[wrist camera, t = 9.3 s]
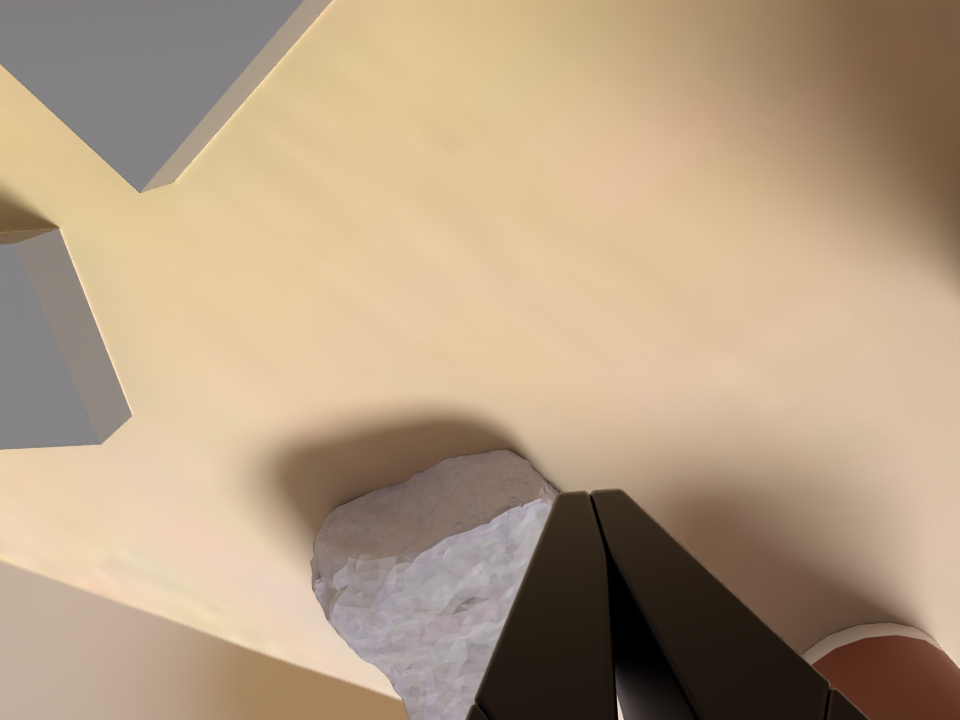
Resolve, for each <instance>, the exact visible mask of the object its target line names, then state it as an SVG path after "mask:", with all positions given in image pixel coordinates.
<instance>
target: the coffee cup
mask: <svg viewBox="0 0 960 720" xmlns="http://www.w3.org/2000/svg"><path fill="white" fill-rule="evenodd" d="M802 657H803V658H804V659H805V660H806V661H807V662H808V663H809V664H811V665H812V666H813V667H814V668H815V669H816V670H817V671H818V672H819V673H820V674H821V675H822V676H823V677H825V678H826V679H827V680H828V681H829V683H830V689H832V688H836V689H838V690H839V691H840V692H841V693H842V694H843V695H844V696H845V697H847V698H848V699H849V700H850V701H851V702H852V703H853V704H854V705H855V706H856V707H857V708H858V709H859V710H860V711H862V712H863V713H864V714H865V715H866V716H867V717H868V718H869V719H870V720H960V669H959V668H958V667H957V666H956V664H955V663H954V662H953V661H952V660H951V659H950V658H949V657H948V655H947V654H946V653H945V652H944V651H943V649H942V648H941V647H940V646H939V644H938V643H937V642H936V640H935V639H933V638H932V637H930V636H928V635H927V634H925V633H924V632H922V631H921V630H919V629H917V628H916V627H911V626H906V625H900V624H895V623H890V622H885V623H875V624H864V625H856V626H853V627H850V628H848V629H845V630H842V631H839V632H836V633H834V634H831V635H828V636H826V637H825V638H824V639H822V640H821V641H819V642H818V643H817V644H815V645H814V646H812V647H811V648H809V649H808V650H807V651H805V653H804V654H803V656H802Z"/></svg>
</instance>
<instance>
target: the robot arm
mask: <svg viewBox="0 0 960 720" xmlns="http://www.w3.org/2000/svg"><path fill="white" fill-rule="evenodd" d="M616 692H617V693H616ZM617 696H618V700H619V703H620V707H621V710H622V714H623V718H624V720H870V719H869V718H868V717H867V716H866V715H865V714H864V713H863V712H862V711H860V710H859V709H858V708H857V707H856V706H855V705H854V704H853V703H852V702H851V701H850V700H849V699H848V698H847V697H845V696H844V695H843V694H842V693H841V692H840V691H839V690H838V689H836V688H832V689H830V683H829V681H828V680H827V679H826V678H825V677H823V676H822V675H821V674H820V673H819V672H818V671H817V670H816V669H815V668H814V667H813V666H812V665H811V664H809V663H808V662H807V661H806V660H805V659H804V658H803V657H802V656H801V655H800V654H799V653H798V652H797V651H795V650H794V649H793V648H792V647H791V646H790V645H789V644H788V643H787V642H786V641H785V640H784V639H783V638H781V637H780V636H779V635H778V634H777V633H776V632H775V631H774V630H773V629H772V628H771V627H770V626H769V625H768V624H766V623H765V622H764V621H763V620H762V619H761V618H760V617H759V616H758V615H757V614H756V613H755V612H754V611H752V610H751V609H750V608H749V607H748V606H747V605H746V604H745V603H744V602H743V601H742V600H741V599H740V598H738V597H737V596H736V595H735V594H734V593H733V592H732V591H731V590H730V589H729V588H728V587H727V586H726V585H724V584H723V583H722V582H721V581H720V580H719V579H718V578H717V577H716V576H715V575H714V574H713V573H712V572H710V571H709V570H708V569H707V568H706V567H705V566H704V565H703V564H702V563H701V562H700V561H699V560H698V559H697V558H695V557H694V556H693V555H692V554H691V553H690V552H689V551H688V550H687V549H686V548H685V547H684V546H683V545H681V544H680V543H679V542H678V541H677V540H676V539H675V538H674V537H673V536H672V535H671V534H670V533H669V532H667V531H666V530H665V529H664V528H663V527H662V526H661V525H660V524H659V523H658V522H657V521H656V520H655V519H653V518H652V517H651V516H650V515H649V514H648V513H647V512H646V511H645V510H644V509H643V508H642V507H641V506H639V505H638V504H637V503H636V502H635V501H634V500H633V499H632V498H631V497H630V496H629V495H628V494H627V493H625V492H624V491H623V490H621V489H605V490H594V491H592V492H591V494H590V495H589V493H588V492H586V491H575V492H562V493H559V494H558V495H557V496H556V498H555V501H554V503H553V506H552V508H551V511H550V513H549V516H548V518H547V520H546V523H545V525H544V528H543V530H542V533H541V535H540V538H539V540H538V543H537V545H536V548H535V550H534V553H533V555H532V557H531V560H530V562H529V565H528V567H527V570H526V572H525V575H524V577H523V580H522V582H521V585H520V587H519V589H518V592H517V594H516V597H515V599H514V602H513V604H512V607H511V609H510V612H509V614H508V617H507V619H506V621H505V624H504V626H503V629H502V631H501V634H500V636H499V639H498V641H497V644H496V646H495V649H494V651H493V654H492V656H491V658H490V661H489V663H488V666H487V668H486V671H485V673H484V676H483V678H482V681H481V683H480V686H479V688H478V690H477V693H476V695H475V698H474V703H475V704H473V705H472V706H471V707H470V709H469V712H468V714H467V717H466V719H465V720H618V709H617Z"/></svg>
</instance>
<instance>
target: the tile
mask: <svg viewBox="0 0 960 720" xmlns="http://www.w3.org/2000/svg"><path fill="white" fill-rule="evenodd" d="M132 416H133V414H132V411H131V408H130V406H129V403H128V401H127V398H126V396H125V393H124V390H123V388H122V385H121V383H120V380H119V378H118V375H117V372H116V370H115V367H114V365H113V362H112V360H111V357H110V354H109V352H108V349H107V347H106V344H105V342H104V339H103V336H102V334H101V331H100V329H99V326H98V324H97V321H96V318H95V316H94V313H93V311H92V308H91V306H90V303H89V301H88V298H87V295H86V293H85V290H84V288H83V285H82V283H81V280H80V277H79V275H78V272H77V270H76V267H75V265H74V262H73V259H72V257H71V254H70V252H69V249H68V247H67V244H66V241H65V239H64V236H63V234H62V231H61V229H60V228H54V229H41V230H28V231H14V232H1V233H0V450H2V449H21V448H41V447H61V446H81V445H100V444H102V443H103V442H104V441H105V440H106V439H107V438H109V437H110V436H111V435H112V434H113V433H114V432H115V431H116V430H117V429H118V428H119V427H121V426H122V425H123V424H124V423H125V422H126V421H127V420H128V419H129V418H130V417H132Z"/></svg>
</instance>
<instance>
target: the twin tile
mask: <svg viewBox="0 0 960 720" xmlns="http://www.w3.org/2000/svg"><path fill="white" fill-rule="evenodd" d="M332 2H333V0H0V64H1V65H2V66H3V67H4V68H5V69H6V70H7V71H8V72H9V73H11V74H12V75H13V76H14V77H15V78H16V79H17V80H18V81H19V82H20V83H21V84H22V85H24V86H25V87H26V88H27V89H28V90H29V91H30V92H31V93H32V94H33V95H34V96H35V97H36V98H38V99H39V100H40V101H41V102H42V103H43V104H44V105H45V106H46V107H47V108H48V109H49V110H51V111H52V112H53V113H54V114H55V115H56V116H57V117H58V118H59V119H60V120H61V121H62V122H64V123H65V124H66V125H67V126H68V127H69V128H70V129H71V130H72V131H73V132H74V133H75V134H76V135H78V136H79V137H80V138H81V139H82V140H83V141H84V142H85V143H86V144H87V145H88V146H89V147H91V148H92V149H93V150H94V151H95V152H96V153H97V154H98V155H99V156H100V157H101V158H102V159H103V160H105V161H106V162H107V163H108V164H109V165H110V166H111V167H112V168H113V169H114V170H115V171H116V172H118V173H119V174H120V175H121V176H122V177H123V178H124V179H125V180H126V181H127V182H128V183H129V184H130V185H132V186H133V187H134V188H135V189H136V190H137V191H138V192H139V193H142V192H145V191H148V190H151V189H154V188H158V187H161V186H164V185H167V184H170V183H174V182H176V181H177V179H178V178H179V177H180V176H181V175H182V174H183V173H184V171H185V170H186V169H187V168H188V167H189V166H190V165H191V163H192V162H193V161H194V160H195V159H196V158H197V157H198V155H199V154H200V153H201V152H202V151H203V150H204V148H205V147H206V146H207V145H208V144H209V143H210V142H211V140H212V139H213V138H214V137H215V136H216V135H217V134H218V132H219V131H220V130H221V129H222V128H223V127H224V126H225V124H226V123H227V122H228V121H229V120H230V119H231V118H232V116H233V115H234V114H235V113H236V112H237V111H238V109H239V108H240V107H241V106H242V105H243V104H244V103H245V101H246V100H247V99H248V98H249V97H250V96H251V95H252V93H253V92H254V91H255V90H256V89H257V88H258V87H259V85H260V84H261V83H262V82H263V81H264V80H265V78H266V77H267V76H268V75H269V74H270V73H271V72H272V70H273V69H274V68H275V67H276V66H277V65H278V64H279V62H280V61H281V60H282V59H283V58H284V57H285V56H286V54H287V53H288V52H289V51H290V50H291V49H292V47H293V46H294V45H295V44H296V43H297V42H298V41H299V39H300V38H301V37H302V36H303V35H304V34H305V33H306V31H307V30H308V29H309V28H310V27H311V26H312V25H313V23H314V22H315V21H316V20H317V19H318V18H319V16H320V15H321V14H322V13H323V12H324V11H325V10H326V8H327V7H328V6H329V5H330V4H331V3H332Z"/></svg>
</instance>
